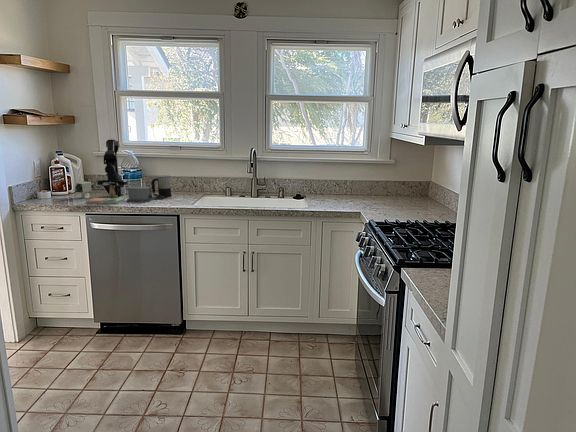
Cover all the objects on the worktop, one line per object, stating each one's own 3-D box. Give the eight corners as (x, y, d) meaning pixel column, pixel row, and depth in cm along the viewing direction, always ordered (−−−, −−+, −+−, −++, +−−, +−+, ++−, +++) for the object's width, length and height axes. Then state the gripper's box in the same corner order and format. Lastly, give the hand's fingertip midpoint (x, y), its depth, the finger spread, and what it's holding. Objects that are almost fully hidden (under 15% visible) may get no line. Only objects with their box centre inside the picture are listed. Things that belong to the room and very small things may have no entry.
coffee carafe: (170, 194, 319) (169, 175, 316) (174, 198, 305) (173, 177, 302) (150, 196, 313) (149, 176, 310) (154, 199, 299) (152, 178, 296)
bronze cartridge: (112, 197, 293) (111, 185, 291) (119, 197, 292) (118, 185, 290) (108, 198, 288) (107, 186, 286) (115, 198, 287) (114, 186, 285)
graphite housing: (132, 198, 302) (131, 186, 300) (154, 199, 301) (153, 186, 299) (127, 200, 295) (126, 188, 293) (149, 201, 293) (148, 188, 291)
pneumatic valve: (94, 196, 309) (93, 180, 306) (80, 199, 299) (79, 182, 296) (89, 196, 311) (87, 179, 309) (75, 198, 301) (73, 182, 298)
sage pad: (110, 200, 296) (110, 198, 296) (124, 200, 295) (124, 198, 295) (103, 203, 286) (103, 201, 286) (117, 203, 285) (117, 201, 285)
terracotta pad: (94, 200, 297) (94, 197, 297) (108, 200, 296) (107, 198, 296) (86, 202, 287) (86, 200, 287) (100, 203, 286) (100, 200, 286)
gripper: (130, 170, 293) (132, 193, 296) (104, 170, 295) (106, 192, 298) (122, 172, 282) (124, 196, 286) (95, 172, 284) (98, 195, 287)
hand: (113, 195), depth 290 cm, fingers closed on bronze cartridge, 5 cm apart
